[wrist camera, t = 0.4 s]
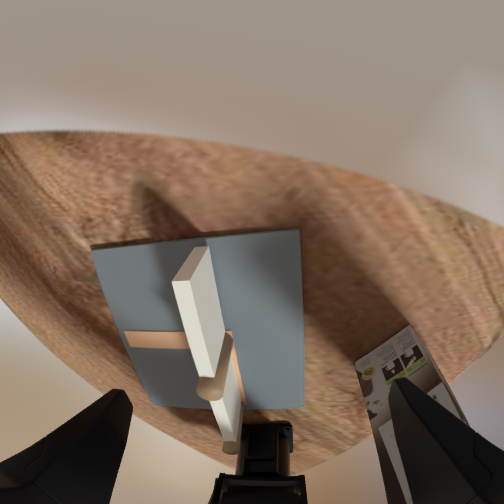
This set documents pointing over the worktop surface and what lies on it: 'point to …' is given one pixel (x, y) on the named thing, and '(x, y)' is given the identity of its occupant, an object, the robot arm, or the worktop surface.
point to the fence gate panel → (200, 310)
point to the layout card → (232, 308)
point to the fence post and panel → (225, 398)
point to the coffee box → (376, 400)
